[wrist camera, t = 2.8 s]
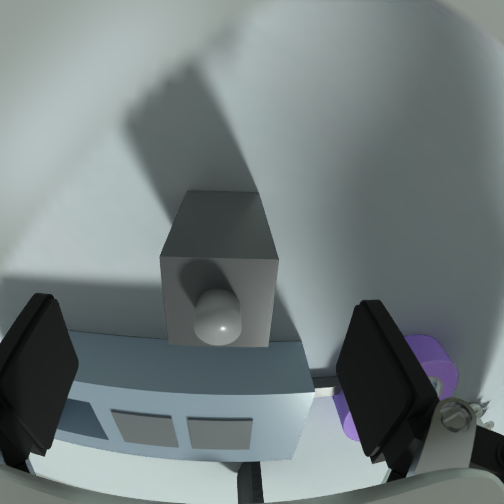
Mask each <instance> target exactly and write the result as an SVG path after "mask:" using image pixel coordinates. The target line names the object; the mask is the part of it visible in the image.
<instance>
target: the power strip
mask: <svg viewBox="0 0 504 504" xmlns="http://www.w3.org/2000/svg"><path fill="white" fill-rule="evenodd" d="M68 333H69V336H70V339H71V341H72V344H73V347H74V349H75V352H76V355H77V357H78V361H79V367H78V371H77V373H76V376H75V378H74V381H73V384H72V386H71V389H70V392H69V395H68V397H67V400H66V403H65V406H64V409H63V412H62V415H61V418H60V421H59V424H58V427H57V430H56V433H55V436H54V439H57V440H61V441H65V442H69V443H73V444H77V445H82V446H86V447H91V448H96V449H101V450H106V451H112V452H118V453H124V454H131V455H138V456H145V457H154V458H163V459H175V460H189V461H212V462H251V461H274V460H289V459H292V457H293V454H294V452H295V449H296V446H297V444H298V441H299V438H300V435H301V433H302V430H303V427H304V424H305V422H306V419H307V416H308V413H309V410H310V407H311V404H312V401H313V398H314V397H322V396H333V395H338V394H339V392H340V389H341V384H340V382H339V379H338V376H334V377H321V378H312V377H311V374H310V370H309V366H308V363H307V359H306V355H305V352H304V348H303V344H302V341H283V342H269V345H268V347H209V346H183V345H169V342H168V339H154V338H140V337H127V336H116V335H105V334H95V333H86V332H78V331H70V330H68ZM5 336H6V335H5ZM3 339H4V338H3ZM1 342H2V341H1Z"/></svg>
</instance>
